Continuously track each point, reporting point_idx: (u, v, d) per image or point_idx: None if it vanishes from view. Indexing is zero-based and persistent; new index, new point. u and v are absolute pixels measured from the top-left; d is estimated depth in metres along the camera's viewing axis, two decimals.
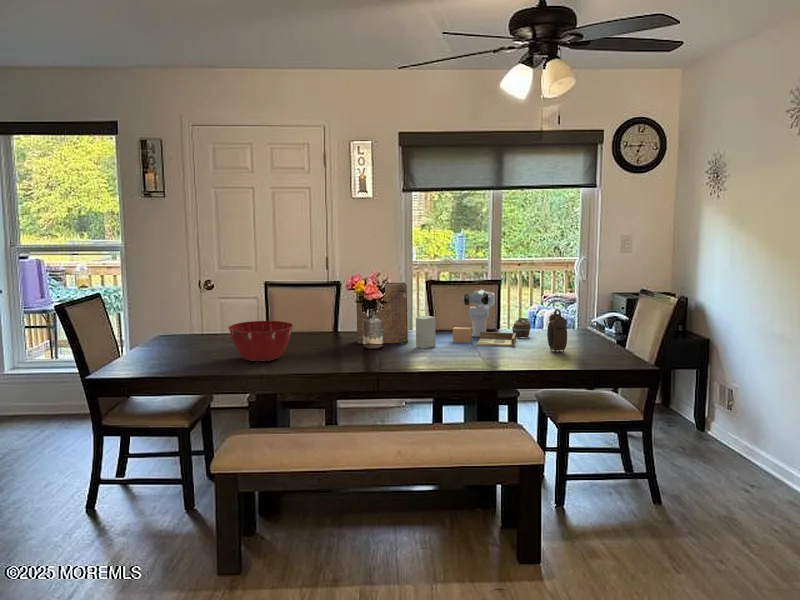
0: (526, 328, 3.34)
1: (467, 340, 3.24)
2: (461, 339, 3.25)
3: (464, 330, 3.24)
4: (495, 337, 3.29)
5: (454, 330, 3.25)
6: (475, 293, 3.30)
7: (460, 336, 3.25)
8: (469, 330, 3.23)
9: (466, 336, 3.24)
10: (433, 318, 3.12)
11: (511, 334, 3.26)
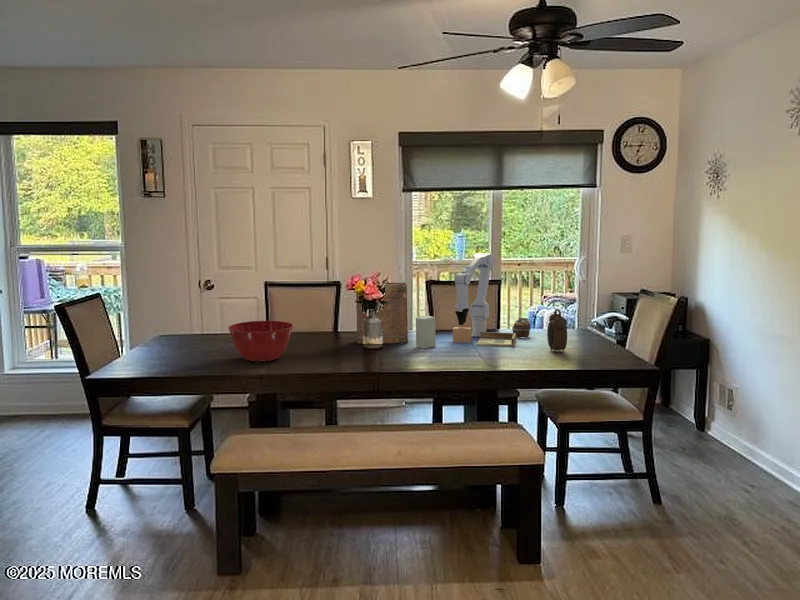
0: (526, 328, 3.34)
1: (467, 340, 3.24)
2: (461, 339, 3.25)
3: (464, 330, 3.24)
4: (495, 337, 3.29)
5: (454, 330, 3.25)
6: (456, 307, 3.26)
7: (460, 336, 3.25)
8: (469, 330, 3.23)
9: (466, 336, 3.24)
10: (433, 318, 3.12)
11: (511, 334, 3.26)
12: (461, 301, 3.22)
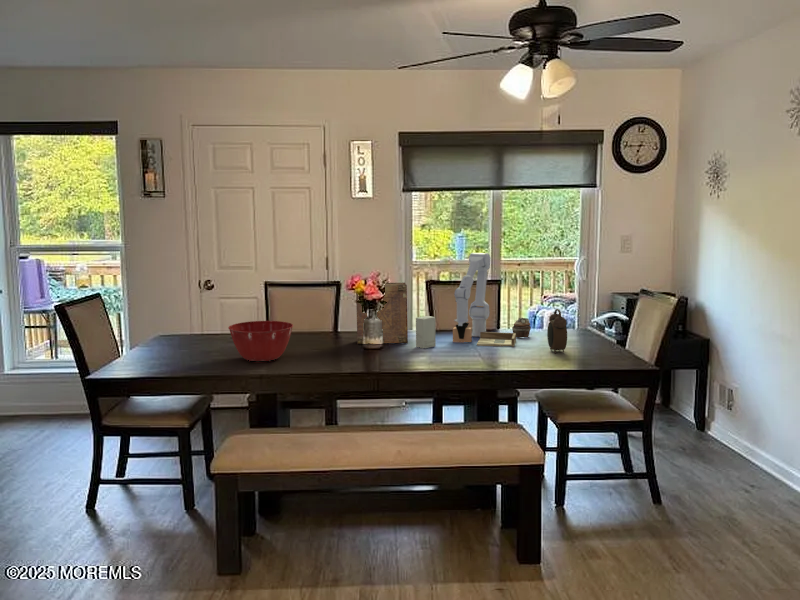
0: (526, 328, 3.34)
1: (467, 340, 3.24)
2: (461, 339, 3.25)
3: None
4: (495, 337, 3.29)
5: (454, 330, 3.25)
6: None
7: None
8: (469, 330, 3.23)
9: (466, 336, 3.24)
10: (433, 318, 3.12)
11: (511, 334, 3.26)
12: (461, 316, 3.23)
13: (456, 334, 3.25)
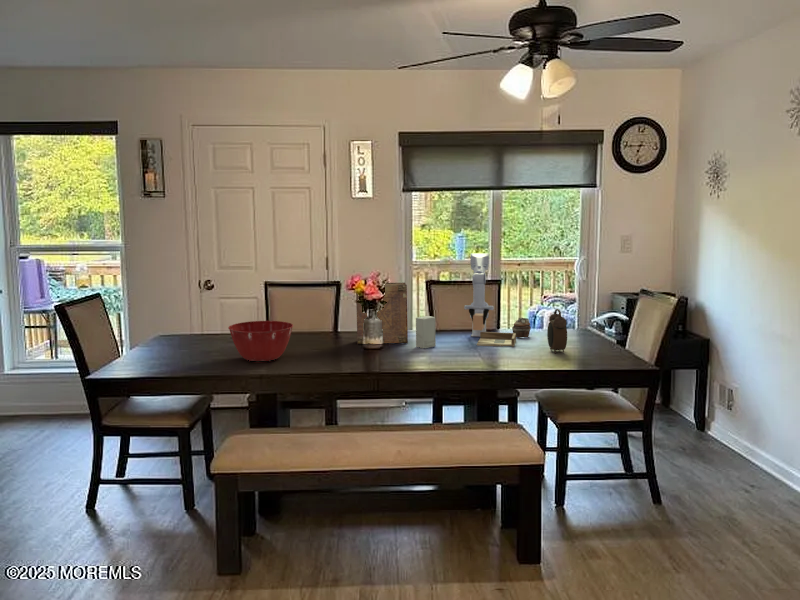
0: (526, 328, 3.34)
1: (484, 325, 3.26)
2: (483, 325, 3.22)
3: None
4: (495, 337, 3.29)
5: (482, 317, 3.19)
6: (477, 308, 3.20)
7: None
8: None
9: None
10: (433, 318, 3.12)
11: (511, 334, 3.26)
12: (484, 301, 3.21)
13: (482, 321, 3.20)
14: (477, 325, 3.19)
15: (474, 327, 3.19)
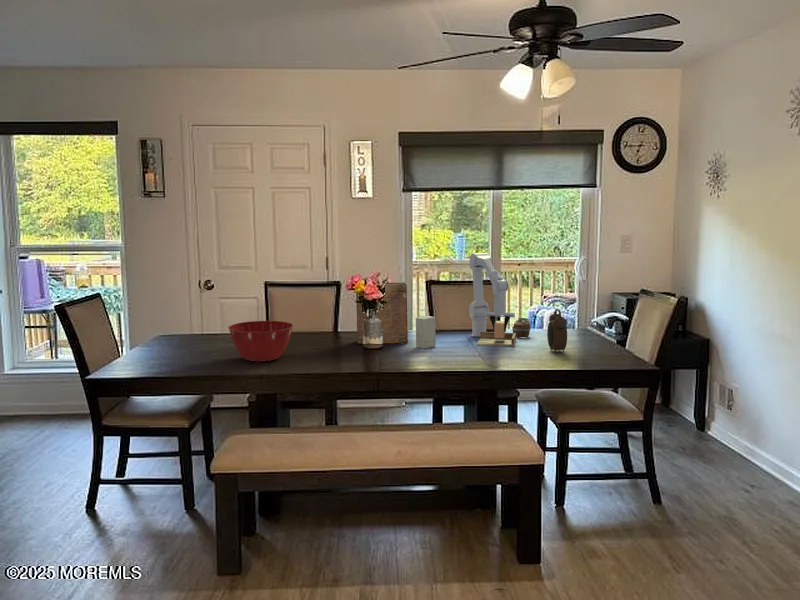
0: (526, 328, 3.34)
1: (504, 333, 3.23)
2: (504, 333, 3.19)
3: (504, 323, 3.20)
4: None
5: (503, 325, 3.16)
6: None
7: None
8: None
9: None
10: (433, 318, 3.12)
11: (511, 334, 3.26)
12: (505, 308, 3.18)
13: (503, 329, 3.17)
14: (498, 333, 3.16)
15: (495, 335, 3.16)
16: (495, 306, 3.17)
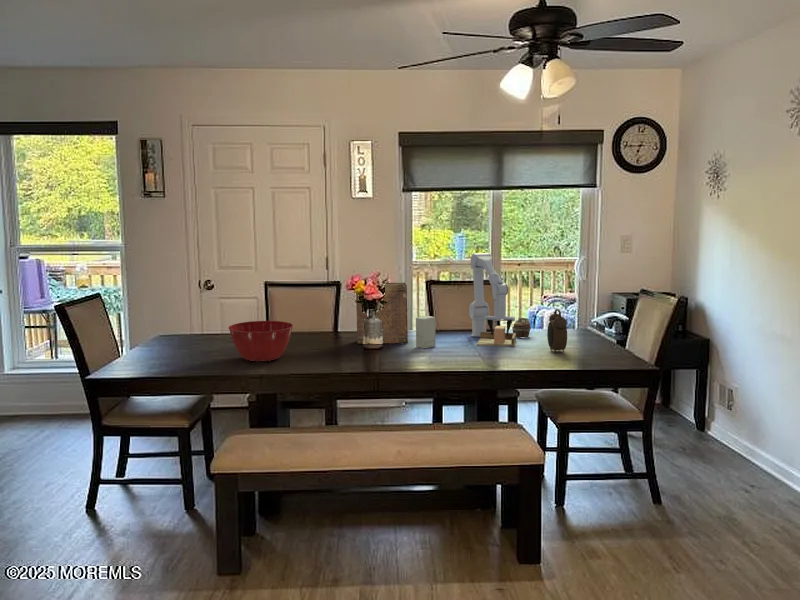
0: (526, 328, 3.34)
1: (504, 338, 3.23)
2: (504, 338, 3.20)
3: (504, 328, 3.21)
4: None
5: (503, 330, 3.16)
6: None
7: None
8: None
9: (504, 334, 3.22)
10: (433, 318, 3.12)
11: (511, 334, 3.26)
12: (505, 312, 3.18)
13: None
14: (498, 338, 3.16)
15: (495, 340, 3.17)
16: (495, 310, 3.18)
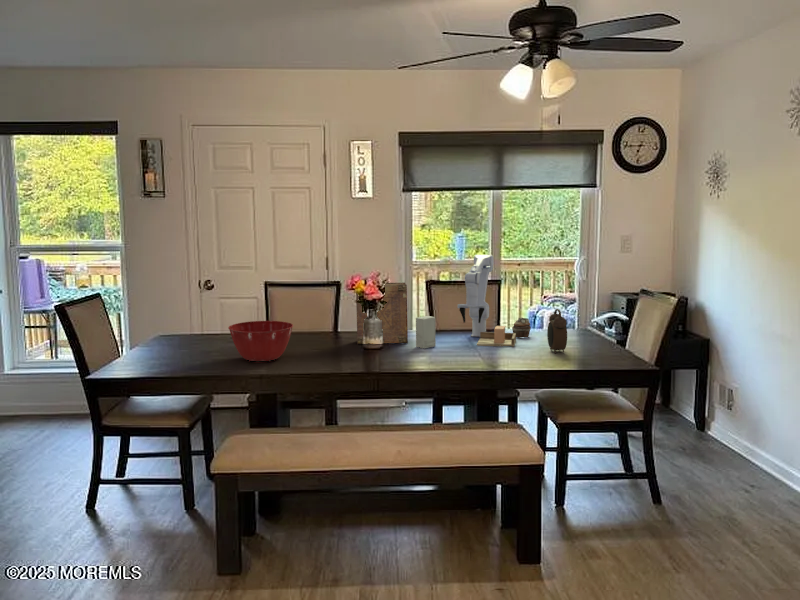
0: (526, 328, 3.34)
1: (504, 338, 3.23)
2: (504, 338, 3.20)
3: (504, 328, 3.21)
4: None
5: (503, 330, 3.16)
6: (470, 306, 3.24)
7: None
8: None
9: (504, 334, 3.22)
10: (433, 318, 3.12)
11: (511, 334, 3.26)
12: (477, 300, 3.25)
13: None
14: (498, 338, 3.16)
15: (495, 340, 3.17)
16: (467, 298, 3.25)
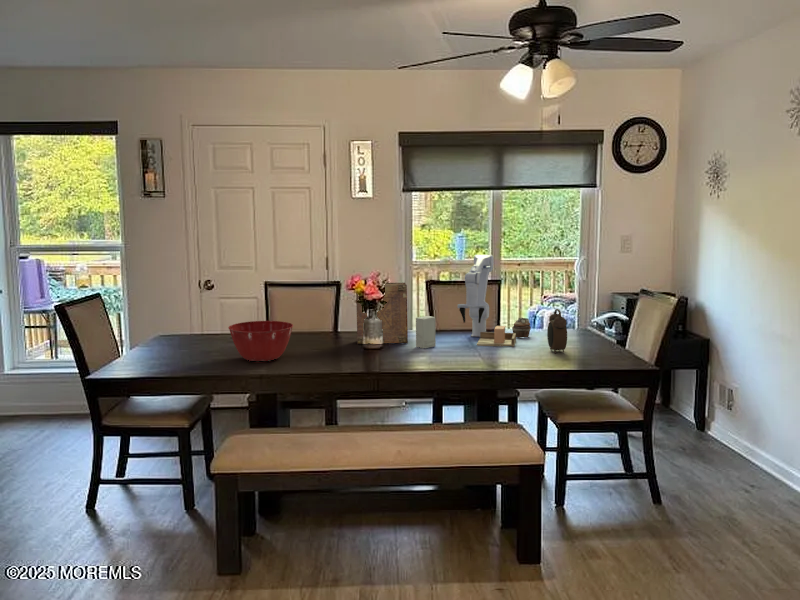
0: (526, 328, 3.34)
1: (504, 338, 3.23)
2: (504, 338, 3.20)
3: (504, 328, 3.21)
4: None
5: (503, 330, 3.16)
6: (470, 306, 3.24)
7: None
8: None
9: (504, 334, 3.22)
10: (433, 318, 3.12)
11: (511, 334, 3.26)
12: (477, 300, 3.25)
13: None
14: (498, 338, 3.16)
15: (495, 340, 3.17)
16: (467, 298, 3.25)
